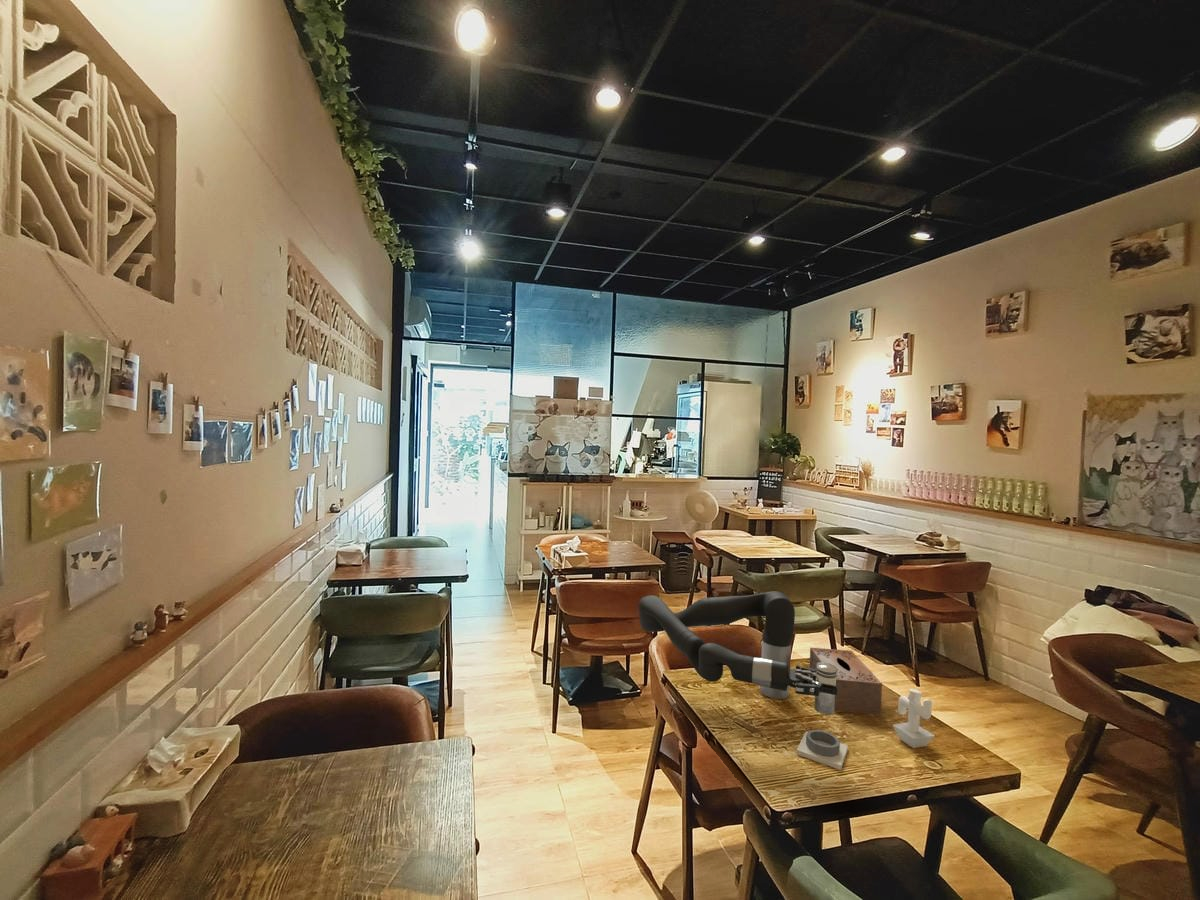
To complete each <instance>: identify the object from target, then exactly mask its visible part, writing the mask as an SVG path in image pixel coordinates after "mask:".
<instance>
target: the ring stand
mask: <svg viewBox="0 0 1200 900" xmlns="http://www.w3.org/2000/svg"><path fill="white" fill-rule="evenodd" d="M848 751H849V745H848V744H845V743H842V742H841V741H840V740H839V738H838V737H837V736H835V735H834V734H832V733H831V732H828V731H825V730H822V729H821V730H819V729H812V730H809V731H805V732H804V735H802V738H801V740H800V742H799V744H798V746H797V748H796V753H795V754H796V755H799V756H800V757H803V758H806V759H809V760H811V761H813V762H814V761H815V762H818V763H820V764H823V765H825V766H828V767H832V768H834V769H836V770H839V771H841V770H842V768H843V765H844V762H845V760H846V756H847V753H848Z"/></svg>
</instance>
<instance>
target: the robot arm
mask: <svg viewBox="0 0 1200 900" xmlns="http://www.w3.org/2000/svg"><path fill="white" fill-rule="evenodd" d="M637 608H638V615H639V623H640V627H641V629H642V630H643V631H645V632H647V633H649V632H650V633H658V632H665V633H666V635H667V637H668V639H669V640H670V641H671V643H672V645H674V647H676V649H677V650H678V651H680V652H681V653H682V654H683V655H684V656H685V657H686V658H687V659H688V661H689V662H690V664H691V666H692V667H693V669H694V670H695V671H696V674H698V675H699V676H700V678H702V679H703V680H706V681H708V682H712V683H713V682H718V681H720V680H721V679H722V677H723V675H724V666H726V667H728V668H729V671H730V674H731V677H732V679H734V680H735V681H739V682H744V683H749V684H752V685H756V686H759V691H760V693H761V694H762V695H763V696H766V697H768V698H771V699H775V700H785V699H787V698H788V697H789V696H790V688H793V689H794V691H795V694H797V695H805V696H812V697H813V696H814V697H815V696H819V694H821V692H822V693H827V694H832V695H837V686H834V685H829V684H824V683H822V684H821V683H819V682H816V670H815V669H811V668H809V667H807V666H803V665H799V664H796V665H795V668H791V658H792V641H793V637H794V632H795V620H796V619H795V617H796V614H795V613H796V610H795V606H794V604H793V602H792V601H791V600H790V598H789V597H788V596H787V595H786V594H784V593H783V592H780V591H775V590H772V591H766V592H761V593H756V594H750V595H727V596H712V597H703V598H700V599H698V600H696V601H695V602H694V603H692V604H690V605H689V606H688V607H686V608H685V609H683V610H681V611H678V612H673V611H672V609H670V607H669V606H668V605H667V604H666V602H665V601H664V600H663V599H662V598H661V597H658V596H657V595H645V596H643V597H641V598H640V599H639V601H638V607H637ZM750 617H751V618H753V617H764V619H765V621H764V630H763V631H762V635H761V637H762V638H761V640H762V641H761V656H760V657H754V656H750V655H745V654H739V653H737V652H735V651H734V650H731V649H729V648H727V647H724V646H722V645H720V644H717V643H714V642H707V643H705V642H704V640H703V639H702V638H701V636H698V635H697V634H696V633H695V632H693V631H692V630H691V629H690V628H692V627H693V628H694V627H711V626H712V627H713V626H725V625H729V624H732V623H735V622H738V621H740V620H744V619H746V618H750Z"/></svg>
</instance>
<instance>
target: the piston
mask: <svg viewBox="0 0 1200 900" xmlns="http://www.w3.org/2000/svg"><path fill="white" fill-rule="evenodd" d="M836 676H837V668H836V666H834V665H832V664H830V663H825V662H819V663H817V664H816V682H819V683H821V684H822V683H824V684H829V685H834V686H836ZM813 703H814V704H813V705H814V707H813V709H814V711H816V712H817V713H820V714H822V715H825V716H831V715H834V714H835V710H834V708H835V695H832V694H827V693H822V692H821V694H819V696H814V702H813Z"/></svg>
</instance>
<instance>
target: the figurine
mask: <svg viewBox="0 0 1200 900" xmlns="http://www.w3.org/2000/svg"><path fill="white" fill-rule="evenodd" d="M921 699H922V692H921V690H918V689H915V688H911V689H909V693H908V697H907V696H905V695H900V697H899V698H898V706H897V707H898V709H897V713H898V714H899V715H902V716H903V715H906V714H907V710H908V716H907V718H908V719H907V722H903V723H902V722H901V723H895V724H894V723H893V724H892V726H893V728H894V730H895V733H896V734H897V737H898V738H899V740H900V741H901V742H903V743H905V744H906V745H907V746H909V747H911V748H912V749H916V748H924V747H927V745H928V744H929V743H930V742H931V740H933V738H934V737H935V734H933V733H931V732H930V731H928V730H926V729H925V728H923V727H921V726H920V718H922V719H925V720H929V719H931V716H932V705H933V701H932V700H931V699H930V698H925V699H923V701H922V702H923V703H921ZM923 746H924V747H923Z"/></svg>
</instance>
